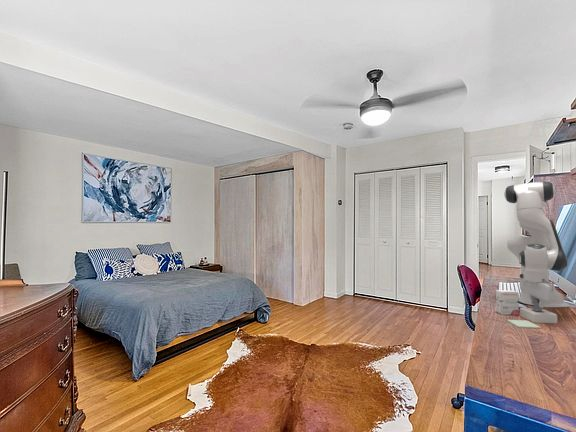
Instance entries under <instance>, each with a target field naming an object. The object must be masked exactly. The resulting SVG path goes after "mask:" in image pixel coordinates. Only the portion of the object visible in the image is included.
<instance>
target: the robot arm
mask: <svg viewBox="0 0 576 432" xmlns="http://www.w3.org/2000/svg"><path fill="white" fill-rule="evenodd" d="M503 193H504V194H503V195H504V198H505V200H506V201H507V202H508V203H510V204H516V207H515V208H516V219H517V221H518V222H519V223H518V225H519V227H520V228H521V229H522V230H524V231H526V232H527V233H529V235H530V236H525V235H524V236H521V235H520V236H513V237H510V238H509V239H508V240H507V243H506V246H507V249H508V250H509V252H510V253H512V254H513V255H514V256H515V257H516V258H517V259H518V261H519V264H520V269H521V273H519V274H518V277H519V289H520V292H521V293H520V295H519V296H520V297H519V298H518V300H519V303H522V304H526V305H530V306H531V305H532V306H533V298H539V300H540V302H539V303H538V306H539V307H541V308H542V309H544V308H570V307H571V305H570V304H569V303H566V302H565V299H564V296H563V294H562V293H560V292H559V291H557V290H556V287H555V281H552V280H550V277H549V276H550V271H555V272H556V271H557V272H561V271H562V270H564V269H566V268H567V267H568V258H567V256H566V254H565V251H564V249H563V245H562V243H561V239H560V237H559V234H558V231H557V228H556V226H555V225H556V224H555V223H554V221H553V220H552V219H549V218H548V217H547V216H546V215H545V213H544V206H543V202H544V203H546V202H548V201H551V200H553V198H554V196H555V194H556V188H555V186H554V184H553V183H552V182H550V181H541V182H539V181H537V182H534V181H533V182H527V183H521V184H520V183H519V184H515V185H514V184H512V185H508V186H507V187H506V188H505V190H504V192H503ZM549 270H550V271H549Z"/></svg>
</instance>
